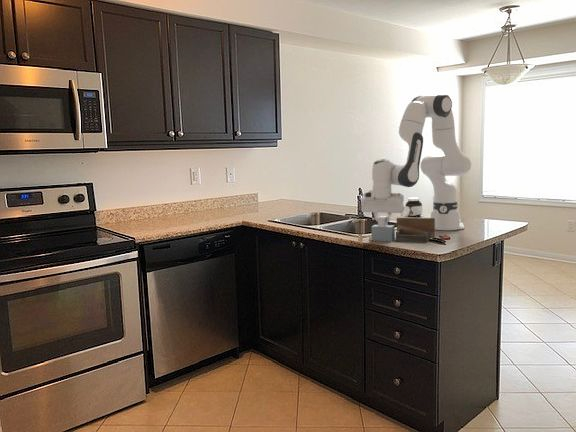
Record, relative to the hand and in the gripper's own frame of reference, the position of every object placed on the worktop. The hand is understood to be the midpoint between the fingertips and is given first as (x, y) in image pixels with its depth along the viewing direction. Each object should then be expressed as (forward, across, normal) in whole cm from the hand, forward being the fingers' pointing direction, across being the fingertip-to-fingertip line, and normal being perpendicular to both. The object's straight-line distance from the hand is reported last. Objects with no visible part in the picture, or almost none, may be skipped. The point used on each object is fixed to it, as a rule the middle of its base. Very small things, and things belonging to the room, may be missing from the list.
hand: (382, 221), depth 227 cm
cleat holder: (+9, -14, -3) cm, 17 cm away
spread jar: (+10, +4, -72) cm, 73 cm away
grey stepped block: (+9, 0, 0) cm, 9 cm away
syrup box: (+9, -15, -64) cm, 66 cm away
